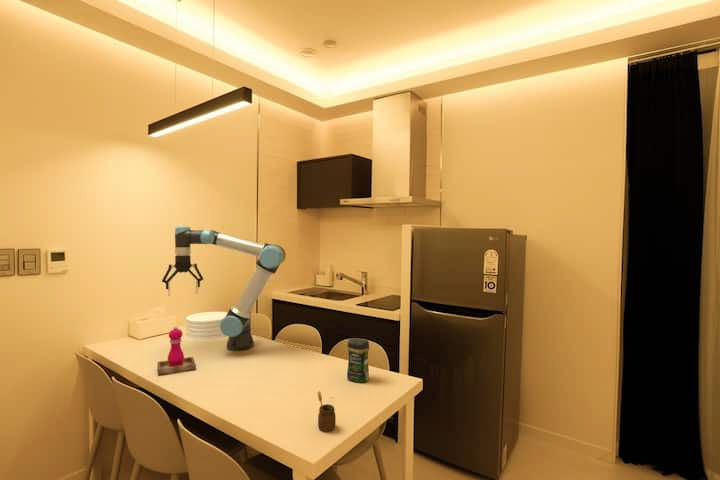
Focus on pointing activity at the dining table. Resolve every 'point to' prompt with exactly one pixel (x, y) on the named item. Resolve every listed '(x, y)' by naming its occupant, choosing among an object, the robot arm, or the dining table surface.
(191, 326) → the plate stack
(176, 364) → the pepper mill
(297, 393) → the dining table surface
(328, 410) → the utensil holder
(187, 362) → the tray
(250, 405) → the dining table surface
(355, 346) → the coffee jar
